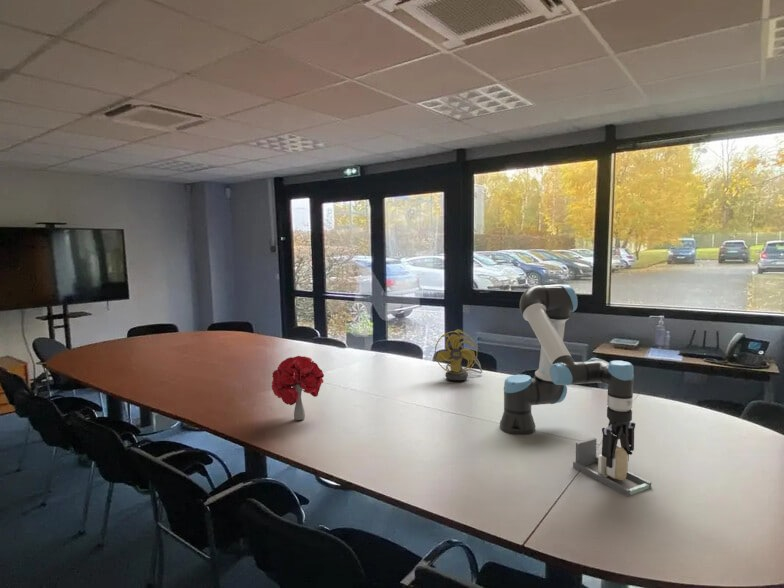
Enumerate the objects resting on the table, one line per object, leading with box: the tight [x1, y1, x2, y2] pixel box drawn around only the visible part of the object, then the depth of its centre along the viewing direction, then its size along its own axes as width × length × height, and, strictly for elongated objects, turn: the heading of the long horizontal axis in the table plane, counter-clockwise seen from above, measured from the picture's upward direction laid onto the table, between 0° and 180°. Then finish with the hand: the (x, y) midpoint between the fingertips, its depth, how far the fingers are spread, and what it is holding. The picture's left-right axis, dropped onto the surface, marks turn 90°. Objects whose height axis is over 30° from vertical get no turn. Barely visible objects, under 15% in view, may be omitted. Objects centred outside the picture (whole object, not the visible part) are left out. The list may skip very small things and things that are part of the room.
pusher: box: [597, 453, 610, 478], centre depth 157 cm, size 1×8×8 cm, turn 115°
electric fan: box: [434, 329, 483, 381], centre depth 282 cm, size 26×32×30 cm
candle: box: [609, 445, 627, 481], centre depth 153 cm, size 6×6×10 cm
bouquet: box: [271, 355, 325, 421], centre depth 215 cm, size 22×24×30 cm
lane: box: [572, 437, 652, 497], centre depth 156 cm, size 22×11×9 cm, turn 25°
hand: (617, 473), depth 154 cm, fingers closed on candle, 5 cm apart
